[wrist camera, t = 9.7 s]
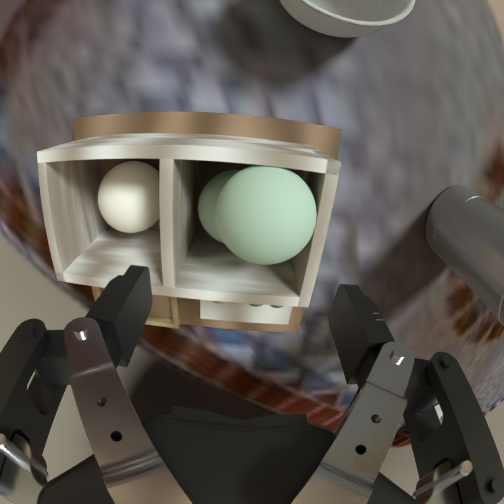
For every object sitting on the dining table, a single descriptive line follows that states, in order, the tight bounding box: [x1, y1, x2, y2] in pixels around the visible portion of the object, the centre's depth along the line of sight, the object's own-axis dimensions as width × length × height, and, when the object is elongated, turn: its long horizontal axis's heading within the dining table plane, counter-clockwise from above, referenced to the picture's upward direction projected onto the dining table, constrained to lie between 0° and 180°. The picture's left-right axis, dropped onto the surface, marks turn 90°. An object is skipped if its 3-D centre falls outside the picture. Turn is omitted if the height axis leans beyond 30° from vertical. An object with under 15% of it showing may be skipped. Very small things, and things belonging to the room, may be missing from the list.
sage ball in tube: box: [198, 170, 241, 243], centre depth 22 cm, size 6×6×6 cm
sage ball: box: [215, 165, 317, 265], centre depth 17 cm, size 6×6×6 cm
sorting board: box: [37, 112, 342, 333], centre depth 23 cm, size 25×23×10 cm
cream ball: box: [98, 161, 160, 233], centre depth 21 cm, size 6×6×6 cm
